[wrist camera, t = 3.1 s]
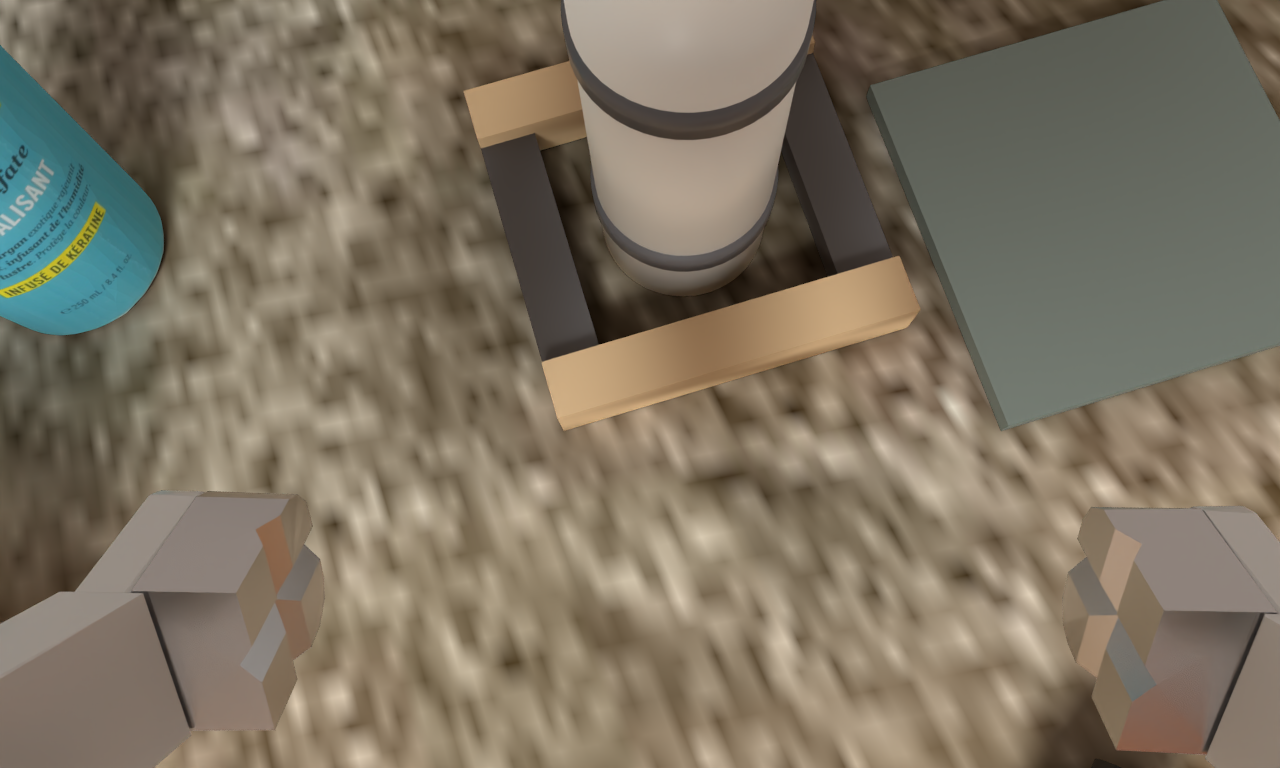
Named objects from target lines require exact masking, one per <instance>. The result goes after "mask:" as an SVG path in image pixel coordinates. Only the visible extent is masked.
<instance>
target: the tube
mask: <svg viewBox="0 0 1280 768" xmlns="http://www.w3.org/2000/svg"><path fill="white" fill-rule="evenodd" d="M163 251H164V234H163V228H162V222H161V218H160V216H159V213H158V211H157V209H156V207H155V205H154V203H153V202H152V200H151V199H150V198H149V196H148V195H147V194H146V193H145V192H144V191H143V190H142V188H141V187H140V186H139V185H138V184H137V183H136V182H135V181H134V180H133V179H132V178H131V177H130V176H129V175H128V174H127V173H126V172H125V171H124V170H123V169H122V168H121V167H120V166H119V165H118V164H117V163H116V162H115V161H114V160H113V159H112V158H111V157H110V156H109V155H108V154H107V153H106V152H105V151H104V150H103V149H102V148H101V147H100V146H99V145H98V144H97V143H96V142H95V141H94V139H93V138H92V137H91V136H90V135H89V134H88V133H87V132H86V131H85V130H84V129H83V128H82V127H81V126H80V125H79V124H78V123H77V122H76V121H75V120H74V119H73V118H72V117H71V116H70V115H69V114H68V113H67V112H66V111H65V110H64V109H63V108H62V107H61V106H60V105H59V104H58V103H57V102H56V101H55V100H54V99H53V98H52V97H51V96H50V95H49V94H48V93H47V92H46V91H45V90H44V89H43V88H42V87H41V86H40V85H39V84H38V83H37V82H36V81H35V80H34V79H33V78H32V77H31V76H30V75H29V74H28V73H27V72H26V71H25V70H24V69H23V68H22V67H21V66H20V65H19V64H18V63H17V62H16V61H15V60H14V59H13V58H12V57H11V56H10V55H9V54H8V53H7V52H6V51H5V50H4V49H3V48H2V46H1V45H0V316H1V317H4V318H6V319H8V320H10V321H13V322H15V323H17V324H19V325H22V326H24V327H26V328H29V329H31V330H34V331H37V332H40V333H45V334H52V335H71V334H78V333H82V332H86V331H89V330H93V329H96V328H99V327H101V326H104V325H106V324H108V323H110V322H112V321H114V320H116V319H117V318H119V317H121V316H123V315H124V314H126V313H127V312H128V311H129V310H130V309H131V308H132V307H133V306H134V305H135V304H136V302H137V301H138V300H139V299H140V298H141V297H142V296H143V295H144V294H145V292H146V291H147V290H148V288H149V286H150V285H151V283H152V281H153V279H154V278H155V276H156V274H157V271H158V268H159V266H160V262H161V259H162V255H163Z"/></svg>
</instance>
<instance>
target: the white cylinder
mask: <svg viewBox="0 0 1280 768" xmlns="http://www.w3.org/2000/svg"><path fill="white" fill-rule="evenodd" d="M815 16H816V0H561V18H562V26H563V32H564V37H565V43H566V48H567V53H568V57H569V61H570V64H571V67H572V69H573V72H574V74H575V76H576V78H577V81H578V87H579V93H580V99H581V105H582V110H583V116H584V122H585V128H586V134H587V140H588V146H589V151H590V157H591V175H590V177H591V187H592V193H593V198H594V203H595V207H596V212H597V214H598V217H599V219H600V222H601V224H602V227H603V233H604V237H605V242H606V245H607V247H608V250H609V252H610V254H611V256H612V258H613V259H614V261H615V262H616V264H617V265H618V266H619V268H620V269H621V270H622V271H623V272H624V273H625V274H626V275H627V276H628V277H630V278H631V279H632V280H633V281H635V282H636V283H638V284H640V285H641V286H643V287H645V288H647V289H649V290H652V291H654V292H657V293H661V294H665V295H671V296H695V295H701V294H705V293H709V292H711V291H714V290H717V289H719V288H721V287H723V286H725V285H727V284H728V283H730V282H731V281H733V280H734V279H735V278H737V277H738V276H739V275H740V274H741V273H742V272H743V271H744V270H745V269H746V268H747V266H748V265H749V264H750V263H751V261H752V260H753V258H754V256H755V255H756V252H757V250H758V248H759V246H760V242H761V239H762V235H763V231H764V227H765V225H766V223H767V221H768V219H769V217H770V214H771V211H772V207H773V204H774V200H775V195H776V191H777V184H778V162H779V158H780V153H781V149H782V144H783V139H784V135H785V130H786V126H787V121H788V117H789V112H790V107H791V103H792V98H793V94H794V89H795V85H796V81H797V80H798V78H799V75H800V73H801V71H802V69H803V67H804V64H805V61H806V57H807V54H808V50H809V46H810V42H811V37H812V33H813V29H814V23H815Z"/></svg>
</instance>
